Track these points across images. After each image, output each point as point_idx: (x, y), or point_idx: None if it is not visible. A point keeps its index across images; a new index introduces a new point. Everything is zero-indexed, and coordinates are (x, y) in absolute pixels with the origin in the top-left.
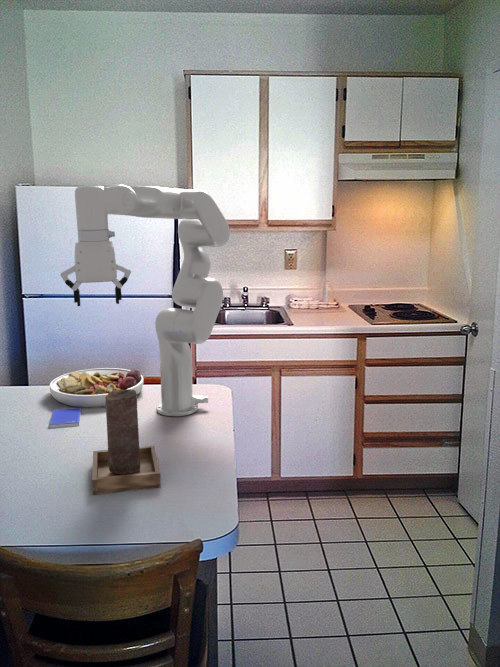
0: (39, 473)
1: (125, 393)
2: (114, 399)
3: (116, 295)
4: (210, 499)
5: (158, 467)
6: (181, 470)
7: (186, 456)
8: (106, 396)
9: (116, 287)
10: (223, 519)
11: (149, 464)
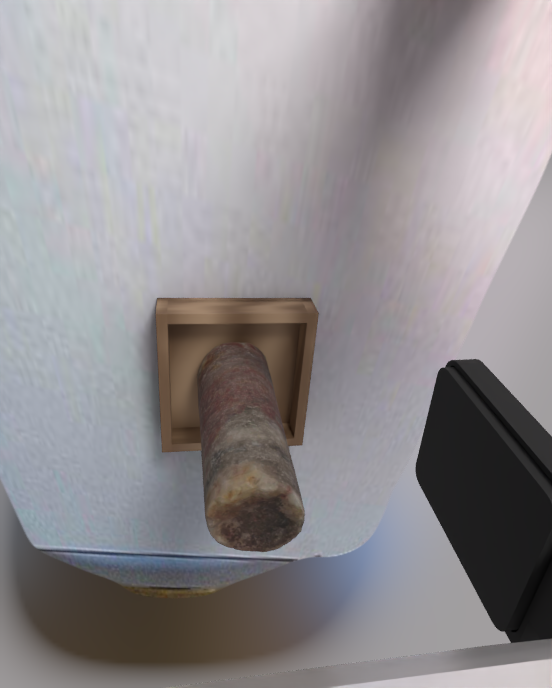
0: (18, 319)
1: (270, 508)
2: (233, 543)
3: (463, 552)
4: (368, 472)
5: (303, 422)
6: (352, 367)
7: (383, 302)
8: (209, 515)
9: (543, 631)
10: (366, 521)
11: (290, 345)
